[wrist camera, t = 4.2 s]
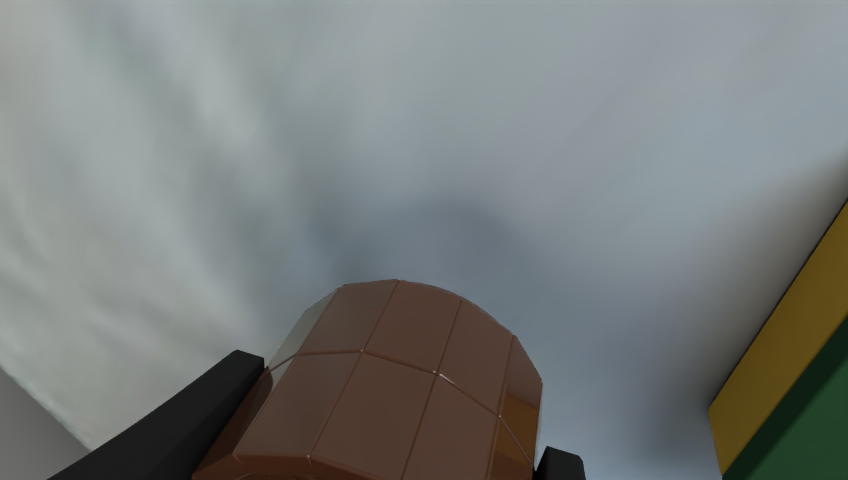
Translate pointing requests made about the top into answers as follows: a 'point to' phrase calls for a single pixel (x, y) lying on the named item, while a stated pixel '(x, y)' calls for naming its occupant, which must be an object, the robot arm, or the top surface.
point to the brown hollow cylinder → (387, 395)
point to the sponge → (793, 380)
